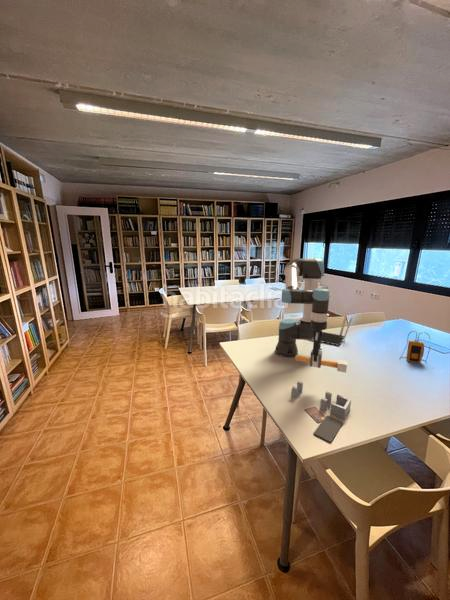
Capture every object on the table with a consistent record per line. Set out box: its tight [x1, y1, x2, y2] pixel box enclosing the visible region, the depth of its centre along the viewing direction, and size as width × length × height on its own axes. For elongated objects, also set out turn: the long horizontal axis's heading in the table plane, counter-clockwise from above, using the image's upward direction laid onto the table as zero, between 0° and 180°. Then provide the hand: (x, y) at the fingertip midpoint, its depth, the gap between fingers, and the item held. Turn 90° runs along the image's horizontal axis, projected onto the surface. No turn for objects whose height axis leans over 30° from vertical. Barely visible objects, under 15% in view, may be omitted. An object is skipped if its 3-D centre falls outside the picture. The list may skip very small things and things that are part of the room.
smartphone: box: [313, 414, 344, 444], centre depth 99 cm, size 7×1×15 cm
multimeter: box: [399, 330, 431, 364], centre depth 158 cm, size 15×10×20 cm
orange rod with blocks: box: [294, 349, 348, 374], centre depth 124 cm, size 24×5×7 cm, turn 64°
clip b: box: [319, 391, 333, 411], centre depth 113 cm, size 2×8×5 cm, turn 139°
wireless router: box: [321, 314, 353, 346], centre depth 194 cm, size 34×23×20 cm
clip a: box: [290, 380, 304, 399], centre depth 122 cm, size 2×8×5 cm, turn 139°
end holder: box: [329, 394, 352, 420], centre depth 109 cm, size 6×9×5 cm, turn 139°
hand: (315, 364), depth 125 cm, fingers closed on orange rod with blocks, 5 cm apart
